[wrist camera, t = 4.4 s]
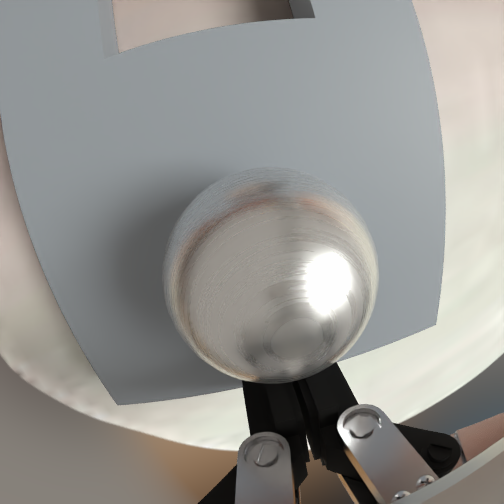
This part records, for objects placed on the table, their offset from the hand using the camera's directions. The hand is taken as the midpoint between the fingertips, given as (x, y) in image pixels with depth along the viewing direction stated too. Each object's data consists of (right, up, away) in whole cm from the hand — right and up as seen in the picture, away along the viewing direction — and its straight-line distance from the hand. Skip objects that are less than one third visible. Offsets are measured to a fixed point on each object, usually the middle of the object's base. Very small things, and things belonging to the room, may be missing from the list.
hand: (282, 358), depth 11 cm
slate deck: (-2, +9, -1) cm, 10 cm away
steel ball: (-1, +3, -3) cm, 5 cm away
